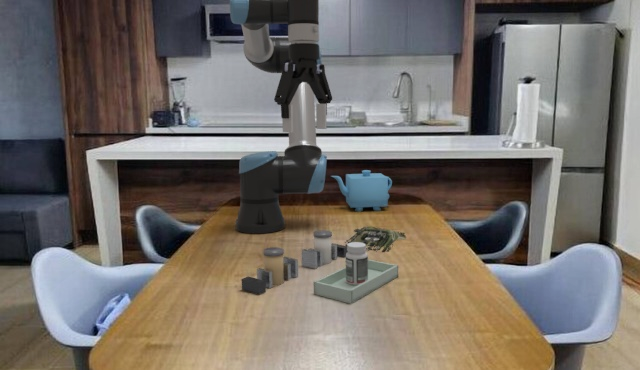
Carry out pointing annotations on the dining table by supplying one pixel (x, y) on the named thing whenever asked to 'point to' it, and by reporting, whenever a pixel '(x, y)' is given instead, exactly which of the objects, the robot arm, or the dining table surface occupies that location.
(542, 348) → the dining table surface
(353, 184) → the teapot
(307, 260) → the clip row
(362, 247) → the pill bottle
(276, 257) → the cylinder
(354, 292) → the tray
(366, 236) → the circuit board
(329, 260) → the grey lidded jar
